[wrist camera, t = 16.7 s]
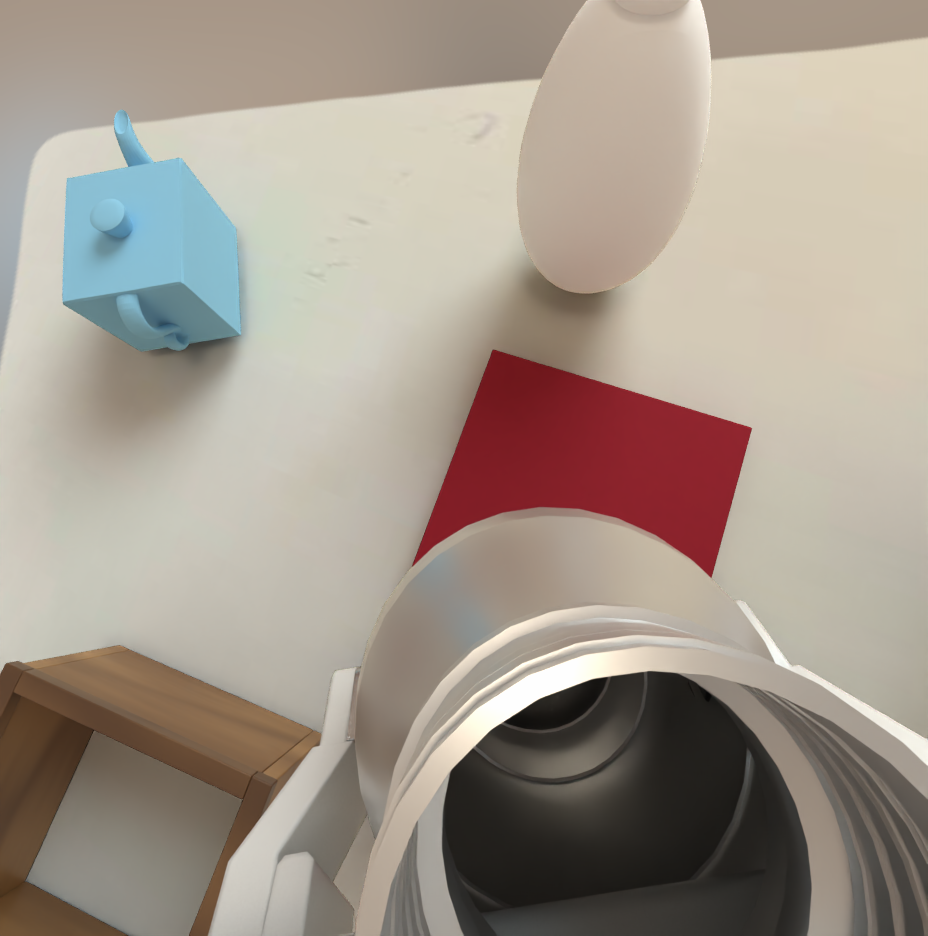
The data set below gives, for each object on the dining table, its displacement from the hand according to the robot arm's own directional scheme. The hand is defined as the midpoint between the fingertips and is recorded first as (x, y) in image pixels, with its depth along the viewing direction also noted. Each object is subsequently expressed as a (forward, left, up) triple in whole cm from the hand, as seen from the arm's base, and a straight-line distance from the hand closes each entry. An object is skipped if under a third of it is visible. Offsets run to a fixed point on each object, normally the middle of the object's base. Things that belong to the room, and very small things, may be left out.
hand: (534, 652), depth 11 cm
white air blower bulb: (-20, -3, -16) cm, 25 cm away
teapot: (-12, -25, -16) cm, 32 cm away
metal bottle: (+1, 0, -12) cm, 12 cm away
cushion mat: (-3, +1, -16) cm, 16 cm away
